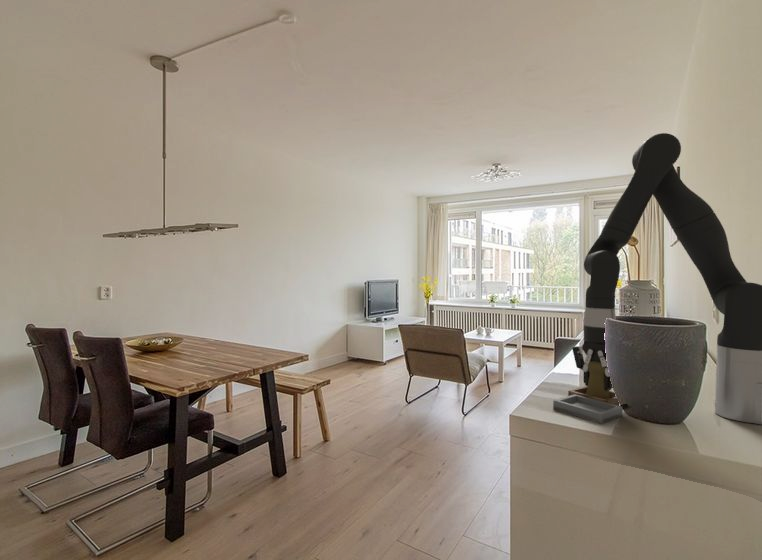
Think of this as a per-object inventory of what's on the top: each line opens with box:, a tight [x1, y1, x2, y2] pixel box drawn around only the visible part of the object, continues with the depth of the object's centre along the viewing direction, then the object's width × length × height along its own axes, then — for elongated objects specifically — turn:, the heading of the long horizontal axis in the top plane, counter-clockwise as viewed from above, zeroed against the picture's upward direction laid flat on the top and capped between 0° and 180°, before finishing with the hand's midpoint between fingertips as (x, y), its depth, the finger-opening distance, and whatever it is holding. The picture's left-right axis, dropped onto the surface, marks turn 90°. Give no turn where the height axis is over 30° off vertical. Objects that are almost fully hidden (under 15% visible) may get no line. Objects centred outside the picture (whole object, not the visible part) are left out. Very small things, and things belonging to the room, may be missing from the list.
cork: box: [586, 361, 610, 400], centre depth 107 cm, size 6×6×11 cm
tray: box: [553, 394, 623, 425], centre depth 99 cm, size 12×10×2 cm
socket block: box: [567, 385, 619, 406], centre depth 107 cm, size 10×10×2 cm
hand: (597, 387), depth 107 cm, fingers closed on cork, 4 cm apart
